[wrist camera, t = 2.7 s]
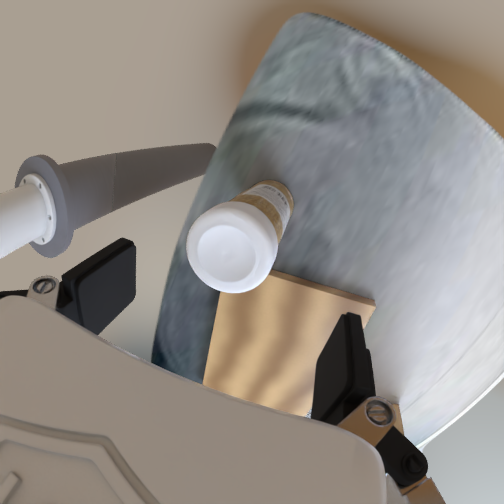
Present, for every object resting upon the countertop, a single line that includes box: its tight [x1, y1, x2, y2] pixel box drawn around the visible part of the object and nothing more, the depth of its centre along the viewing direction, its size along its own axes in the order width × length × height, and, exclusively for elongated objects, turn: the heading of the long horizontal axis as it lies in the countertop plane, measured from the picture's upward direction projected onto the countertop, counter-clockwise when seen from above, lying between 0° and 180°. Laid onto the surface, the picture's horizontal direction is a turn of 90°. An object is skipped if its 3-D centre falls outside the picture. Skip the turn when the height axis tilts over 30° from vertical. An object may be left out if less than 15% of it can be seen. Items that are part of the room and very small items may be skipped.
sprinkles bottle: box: [186, 180, 294, 293], centre depth 19 cm, size 5×5×14 cm
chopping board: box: [203, 269, 376, 417], centre depth 32 cm, size 16×22×2 cm
